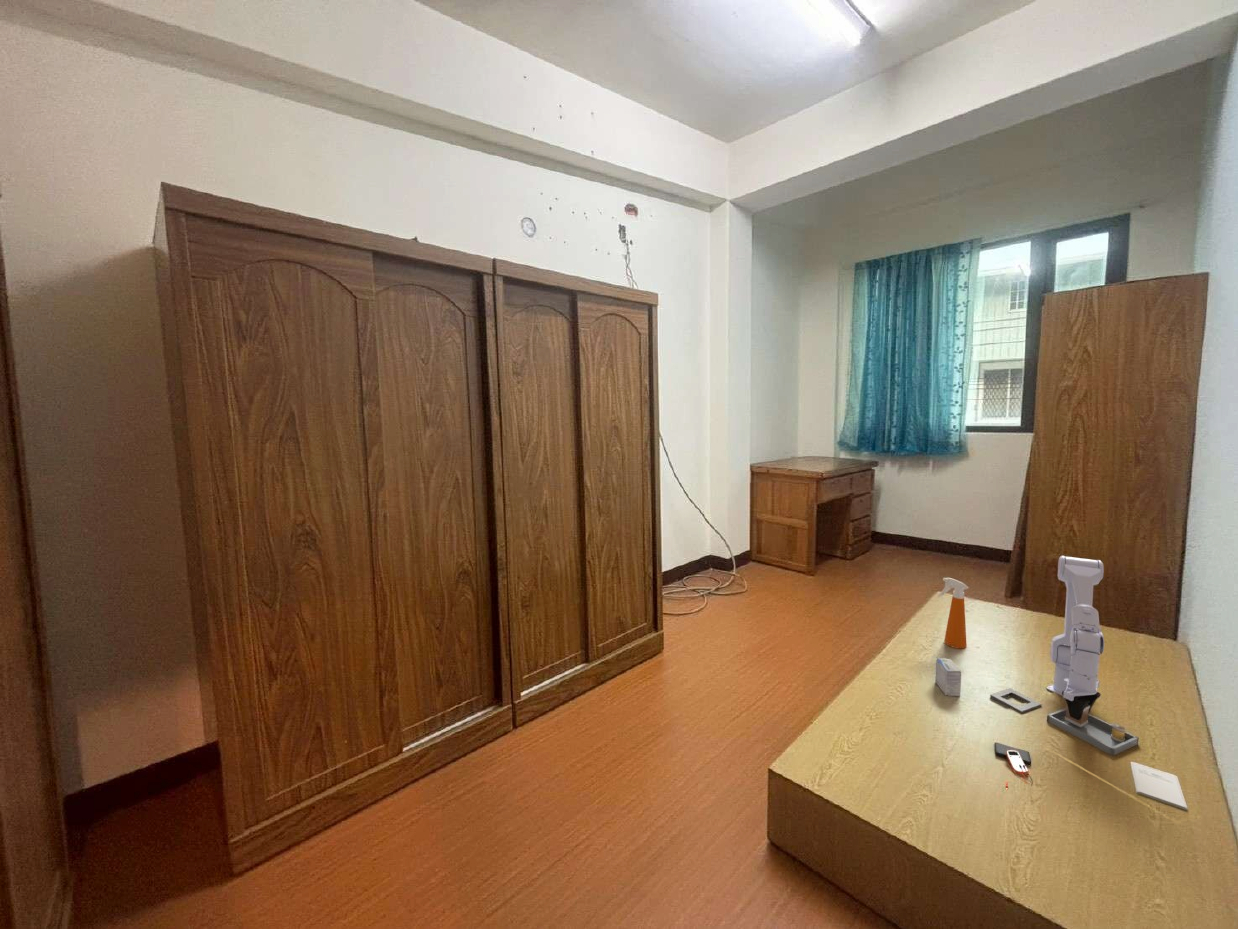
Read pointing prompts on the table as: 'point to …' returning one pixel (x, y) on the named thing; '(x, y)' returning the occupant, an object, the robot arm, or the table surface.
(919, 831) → the table surface
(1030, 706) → the grey square frame
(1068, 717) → the block
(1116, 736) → the cylinder
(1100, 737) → the parts tray
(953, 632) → the spray bottle
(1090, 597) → the robot arm
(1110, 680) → the table surface
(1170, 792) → the external hard drive
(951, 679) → the medicine box
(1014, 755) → the multimeter
